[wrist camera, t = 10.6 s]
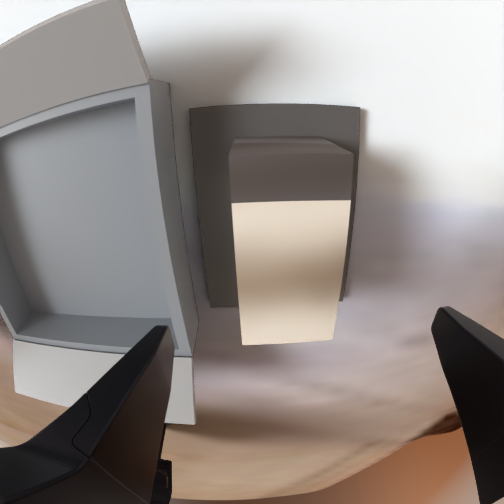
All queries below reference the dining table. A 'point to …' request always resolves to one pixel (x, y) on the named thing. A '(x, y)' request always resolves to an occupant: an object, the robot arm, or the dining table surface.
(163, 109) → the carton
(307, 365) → the dining table surface
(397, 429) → the dining table surface
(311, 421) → the dining table surface
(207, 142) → the mat
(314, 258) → the block
